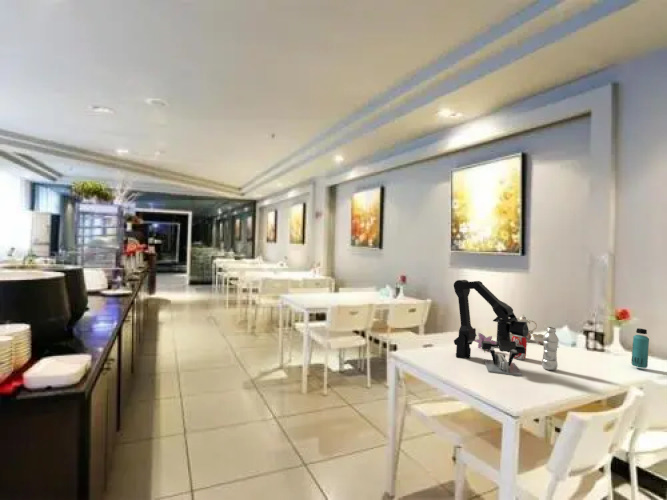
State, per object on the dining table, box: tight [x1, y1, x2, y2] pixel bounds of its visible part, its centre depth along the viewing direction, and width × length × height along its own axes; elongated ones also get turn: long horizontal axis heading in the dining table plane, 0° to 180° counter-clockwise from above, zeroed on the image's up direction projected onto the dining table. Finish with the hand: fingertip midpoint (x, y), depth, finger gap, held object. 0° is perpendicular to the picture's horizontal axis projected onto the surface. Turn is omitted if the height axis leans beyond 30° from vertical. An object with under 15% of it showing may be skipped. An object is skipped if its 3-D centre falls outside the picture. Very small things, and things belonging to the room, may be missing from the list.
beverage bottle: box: [630, 327, 650, 369], centre depth 189 cm, size 6×7×20 cm
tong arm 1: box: [495, 352, 503, 369], centre depth 183 cm, size 2×12×4 cm, turn 164°
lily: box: [473, 332, 497, 353], centre depth 210 cm, size 12×12×10 cm
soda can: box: [511, 335, 528, 361], centre depth 198 cm, size 7×7×12 cm
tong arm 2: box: [499, 353, 508, 370], centre depth 182 cm, size 2×12×4 cm, turn 167°
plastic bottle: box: [541, 326, 559, 371], centre depth 182 cm, size 6×7×20 cm
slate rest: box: [483, 358, 523, 377], centre depth 181 cm, size 14×18×5 cm
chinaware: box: [510, 314, 545, 346], centre depth 235 cm, size 28×17×17 cm, turn 81°
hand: (501, 365), depth 181 cm, fingers open, 6 cm apart
